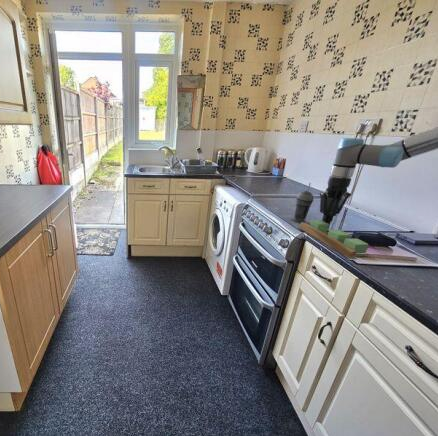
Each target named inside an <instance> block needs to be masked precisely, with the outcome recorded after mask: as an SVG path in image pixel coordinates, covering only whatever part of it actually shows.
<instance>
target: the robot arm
mask: <svg viewBox="0 0 438 436" xmlns="http://www.w3.org/2000/svg"><path fill="white" fill-rule="evenodd" d="M436 150H438V126H436V127H433V128H431V129H428V130H425V131H423V132H420V133H418V134H414V135H412V136H409V137H407V138H404V139H402V140H398V141H396V142H392V143H391V144H383V145H382V144H380V145H379V144H365V140H364V138H356V137H343V138H341V139H340V141H339V143H338V147H337V149H336V152H335V157H334V160H333V164H332V167H331V170H330V174H329V175H330V176H329V177H328V180H327V187H326V188H325V190H324V191H320V192H319V196H320V201H319V202H320V203H319V212H320V213H321V214H323V216H322V218H321V220H322V221H324V222H326V223H328V224H329V227H328V230H330V225H331V223H332V222H333V219H334V217H336V216H337V215H340V213H341V211H342V209H343V208H344V207H345V204H346V202H347V200H348V199H349V198H350V197H351V196H352V193H351V192H348V188H349V187H350V185H351V182H352V178H353V175H354V174H355V169H356V166H357V165H364V166H365V165H366V166H373V167H380V168H391V169H392V168H396V167H397V166H398V165H399V164H400V163H401V162H402V161H405V160H408V159H411V158H414V157H418V156H420V155H423V154H426V153H430V152H433V151H436Z"/></svg>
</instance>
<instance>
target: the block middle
mask: <svg viewBox="0 0 438 436" xmlns="http://www.w3.org/2000/svg"><path fill="white" fill-rule="evenodd" d="M327 235H329V236H331V237H332V238H334V239H336V240H338V241H340V242H341V243H343V244H344V241H345V239H350V237H351V234H349V233H347V232H345V231H343V230H342V229H328V231H327Z"/></svg>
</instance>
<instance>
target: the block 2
mask: <svg viewBox="0 0 438 436" xmlns="http://www.w3.org/2000/svg"><path fill="white" fill-rule="evenodd" d="M344 244H345V245H347V246H349V247H350V248H352V249H354V250H356V251H357V253H365V254H356V256H355V257H365V256H366V253H367V250H368V248H369V246H370V244H369V243H367V242H365V241H364V240H361V239H359V238H349V239H345V241H344Z"/></svg>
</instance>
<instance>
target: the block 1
mask: <svg viewBox="0 0 438 436" xmlns="http://www.w3.org/2000/svg"><path fill="white" fill-rule="evenodd" d="M309 225H311V226H313V227H314V228H316V229H318V230H320V231H322V232H323V233H325V234H328V231H329V229H328V227H329V228H330V226H329V224H328V223H326V222H324V221H322V219H311V220H310V222H309Z"/></svg>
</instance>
